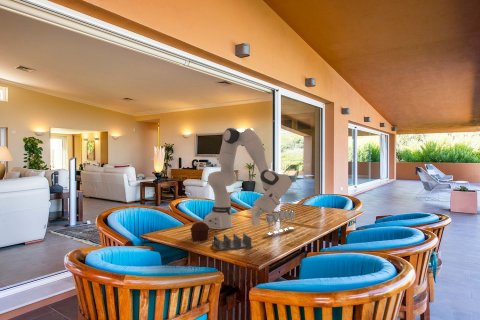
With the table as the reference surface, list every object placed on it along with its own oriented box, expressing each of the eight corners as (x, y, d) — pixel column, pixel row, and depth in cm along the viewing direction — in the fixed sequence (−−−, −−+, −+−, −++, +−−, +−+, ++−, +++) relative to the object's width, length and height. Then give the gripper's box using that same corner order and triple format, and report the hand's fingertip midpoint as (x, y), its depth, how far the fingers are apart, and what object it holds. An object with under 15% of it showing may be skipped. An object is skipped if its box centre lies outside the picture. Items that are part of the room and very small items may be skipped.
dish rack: (218, 250, 162) (218, 241, 162) (212, 243, 176) (212, 234, 176) (252, 247, 168) (252, 238, 168) (244, 240, 181) (244, 232, 181)
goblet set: (270, 234, 196) (270, 213, 196) (263, 233, 200) (263, 212, 200) (296, 228, 215) (297, 208, 215) (290, 226, 219) (290, 207, 219)
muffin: (191, 237, 190) (191, 220, 190) (209, 236, 191) (209, 220, 191) (189, 242, 178) (189, 224, 178) (208, 242, 179) (208, 224, 179)
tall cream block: (254, 225, 173) (254, 208, 173) (251, 224, 178) (251, 206, 178) (259, 225, 174) (259, 207, 174) (256, 223, 179) (256, 206, 179)
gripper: (260, 191, 188) (245, 208, 185) (274, 196, 168) (257, 214, 165) (267, 198, 189) (252, 215, 186) (281, 203, 170) (265, 222, 167)
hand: (254, 215), depth 176 cm, fingers closed on tall cream block, 5 cm apart
